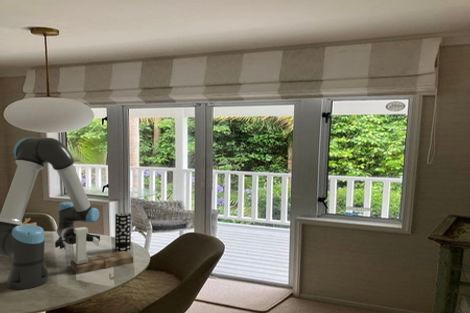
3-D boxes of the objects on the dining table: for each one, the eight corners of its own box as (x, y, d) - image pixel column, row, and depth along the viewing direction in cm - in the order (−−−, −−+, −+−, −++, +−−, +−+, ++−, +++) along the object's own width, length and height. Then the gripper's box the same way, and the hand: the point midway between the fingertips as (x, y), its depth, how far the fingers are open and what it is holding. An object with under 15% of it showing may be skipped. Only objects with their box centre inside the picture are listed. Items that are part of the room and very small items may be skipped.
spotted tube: (111, 250, 192) (112, 214, 192) (123, 246, 200) (123, 212, 199) (122, 252, 188) (123, 216, 188) (133, 249, 196) (134, 213, 195)
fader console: (77, 274, 156) (77, 266, 156) (70, 266, 166) (70, 259, 166) (133, 262, 172) (133, 256, 172) (123, 256, 182) (124, 250, 182)
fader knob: (76, 264, 159) (77, 230, 159) (73, 260, 164) (73, 228, 163) (88, 262, 162) (88, 229, 162) (84, 258, 167) (84, 226, 166)
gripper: (96, 239, 185) (110, 248, 168) (43, 246, 169) (53, 258, 153) (96, 225, 185) (110, 233, 168) (43, 231, 169) (53, 241, 152)
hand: (83, 245), depth 160 cm, fingers open, 13 cm apart
